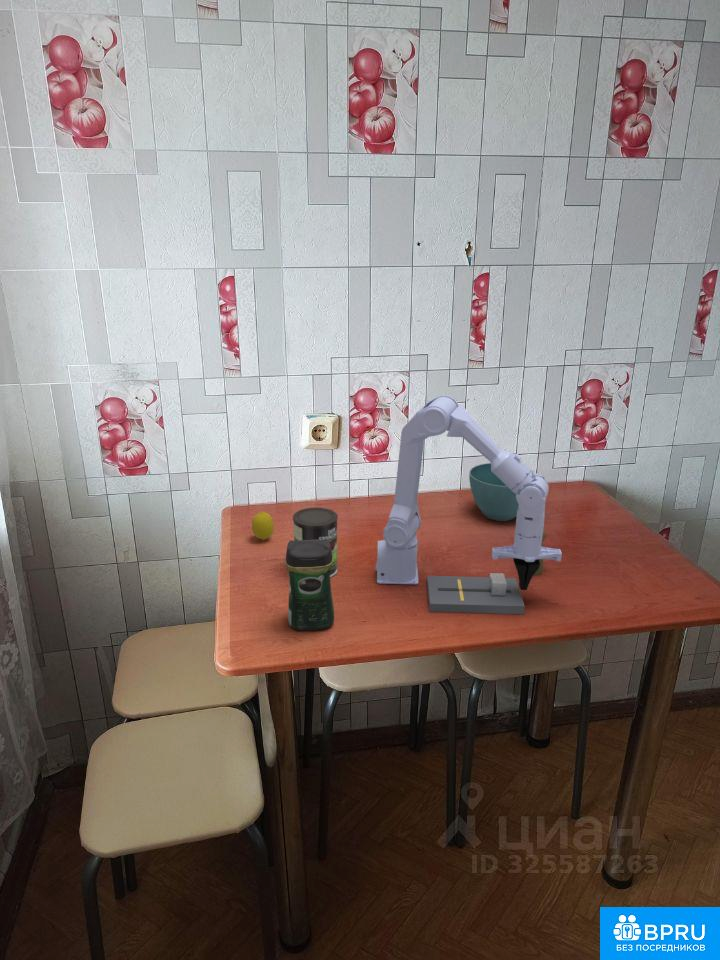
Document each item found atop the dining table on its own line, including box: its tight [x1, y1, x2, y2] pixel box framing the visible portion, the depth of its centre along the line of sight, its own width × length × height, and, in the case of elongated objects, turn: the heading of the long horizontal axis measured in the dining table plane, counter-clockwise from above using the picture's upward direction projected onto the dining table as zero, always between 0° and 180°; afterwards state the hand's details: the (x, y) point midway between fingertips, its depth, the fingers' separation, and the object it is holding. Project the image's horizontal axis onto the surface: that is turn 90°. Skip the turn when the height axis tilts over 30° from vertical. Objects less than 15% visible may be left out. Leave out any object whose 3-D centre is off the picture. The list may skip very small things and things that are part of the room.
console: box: [426, 575, 526, 615], centre depth 159 cm, size 20×12×2 cm, turn 88°
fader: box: [489, 572, 507, 596], centre depth 158 cm, size 3×4×3 cm
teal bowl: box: [468, 462, 534, 522], centre depth 198 cm, size 18×18×12 cm
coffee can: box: [292, 507, 338, 579], centre depth 168 cm, size 10×10×14 cm
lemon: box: [251, 510, 275, 541], centre depth 184 cm, size 6×6×8 cm
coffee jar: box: [284, 539, 335, 631], centre depth 147 cm, size 10×8×19 cm
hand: (523, 587), depth 158 cm, fingers closed
